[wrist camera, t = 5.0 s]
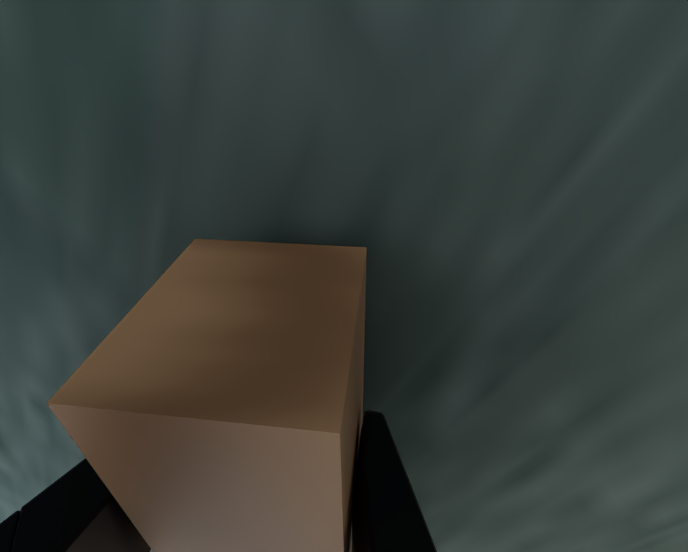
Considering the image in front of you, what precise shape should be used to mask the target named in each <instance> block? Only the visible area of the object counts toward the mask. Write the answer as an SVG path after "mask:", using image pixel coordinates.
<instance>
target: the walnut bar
mask: <svg viewBox="0 0 688 552" xmlns="http://www.w3.org/2000/svg"><path fill="white" fill-rule="evenodd" d="M366 257H367V247H349V246H329V245H309V244H290V243H270V242H250V241H231V240H211V239H194V240H193V241H192V243H191V244H190V245H189V246H188V247H187V248H186V249H185V250H184V251H183V253H182V254H181V255H180V256H179V257H178V258H177V259H176V260H175V261H174V262H173V264H172V265H171V266H170V267H169V268H168V269H167V270H166V271H165V272H164V274H163V275H162V276H161V277H160V278H159V279H158V280H157V281H156V282H155V284H154V285H153V286H152V287H151V288H150V289H149V290H148V291H147V292H146V294H145V295H144V296H143V297H142V298H141V299H140V300H139V301H138V302H137V303H136V305H135V306H134V307H133V308H132V309H131V310H130V311H129V312H128V313H127V315H126V316H125V317H124V318H123V319H122V320H121V321H120V322H119V323H118V325H117V326H116V327H115V328H114V329H113V330H112V331H111V332H110V333H109V334H108V336H107V337H106V338H105V339H104V340H103V341H102V342H101V343H100V344H99V346H98V347H97V348H96V349H95V350H94V351H93V352H92V353H91V354H90V356H89V357H88V358H87V359H86V360H85V361H84V362H83V363H82V364H81V365H80V367H79V368H78V369H77V370H76V371H75V372H74V373H73V374H72V375H71V377H70V378H69V379H68V380H67V381H66V382H65V383H64V384H63V385H62V387H61V388H60V389H59V390H58V391H57V392H56V393H55V394H54V395H53V396H52V398H51V399H50V400H49V401H48V402H47V405H48V406H49V407H50V409H51V410H52V412H53V413H54V414H55V416H56V417H57V419H58V420H59V421H60V423H61V424H62V426H63V427H64V428H65V430H66V431H67V432H68V434H69V435H70V437H71V438H72V439H73V441H74V442H75V444H76V445H77V446H78V448H79V449H80V451H81V452H82V453H83V455H84V456H85V458H86V459H87V460H88V462H89V463H90V464H91V466H92V467H93V469H94V470H95V471H96V473H97V474H98V476H99V477H100V478H101V480H102V481H103V483H104V484H105V485H106V487H107V488H108V489H109V491H110V492H111V494H112V495H113V496H114V498H115V499H116V501H117V502H118V503H119V505H120V506H121V508H122V509H123V510H124V512H125V513H126V515H127V516H128V517H129V519H130V520H131V521H132V523H133V524H134V526H135V527H136V528H137V530H138V531H139V533H140V534H141V535H142V537H143V538H144V540H145V541H146V542H147V544H148V545H149V547H150V548H151V549H152V551H153V552H352V510H353V498H354V487H355V476H356V466H357V457H358V448H359V439H360V432H361V427H362V418H363V378H364V337H365V297H366Z"/></svg>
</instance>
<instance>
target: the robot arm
mask: <svg viewBox="0 0 688 552" xmlns="http://www.w3.org/2000/svg"><path fill="white" fill-rule="evenodd" d="M150 550H151V548H150V547H149V545H148V544H147V542H146V541H145V540H144V538H143V537H142V535H141V534H140V533H139V531H138V530H137V528H136V527H135V526H134V524H133V523H132V521H131V520H130V519H129V517H128V516H127V515H126V513H125V512H124V510H123V509H122V508H121V506H120V505H119V503H118V502H117V501H116V499H115V498H114V496H113V495H112V494H111V492H110V491H109V489H108V488H107V487H106V485H105V484H104V483H103V481H102V480H101V478H100V477H99V476H98V474H97V473H96V471H95V470H94V469H93V467H92V466H91V464H90V463H89V462H88V460H87V459H86V458H85V459H84V460H83V461H81V462H80V463H79V464H77V465H76V466H75V467H73V468H72V469H71V470H70V471H68V472H67V473H66V474H64V475H63V476H62V477H60V478H59V479H58V480H57V481H55V482H54V483H53V484H51V485H50V486H49V487H47V488H46V489H45V490H44V491H42V492H41V493H40V494H38V495H37V496H36V497H34V498H33V499H32V500H31V501H29V502H28V503H27V504H25V505H24V506H23V507H22V508H21V511H16V512H15V513H13V514H12V515H11V516H9V517H8V518H7V519H6V520H4V521H3V522H2V523H0V552H150ZM352 552H437V550H436V548H435V545H434V543H433V540H432V538H431V535H430V532H429V530H428V527H427V525H426V522H425V520H424V517H423V514H422V512H421V509H420V507H419V504H418V502H417V499H416V496H415V494H414V491H413V489H412V486H411V484H410V481H409V478H408V476H407V473H406V471H405V468H404V466H403V463H402V460H401V458H400V455H399V453H398V450H397V448H396V445H395V443H394V440H393V437H392V435H391V432H390V430H389V427H388V425H387V422H386V419H385V417H384V415H383V414H382V413H381V412H376V411H370V410H367V411H365V412H364V416H363V422H362V427H361V432H360V439H359V448H358V457H357V466H356V476H355V487H354V498H353V510H352Z"/></svg>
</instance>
